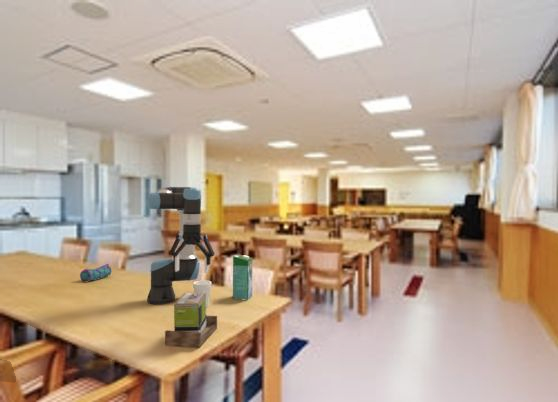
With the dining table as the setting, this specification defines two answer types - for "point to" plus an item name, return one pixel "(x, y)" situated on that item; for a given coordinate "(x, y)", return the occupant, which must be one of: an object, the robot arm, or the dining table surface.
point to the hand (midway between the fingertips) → (191, 271)
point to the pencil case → (95, 273)
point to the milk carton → (242, 277)
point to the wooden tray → (191, 335)
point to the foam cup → (203, 289)
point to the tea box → (190, 313)
